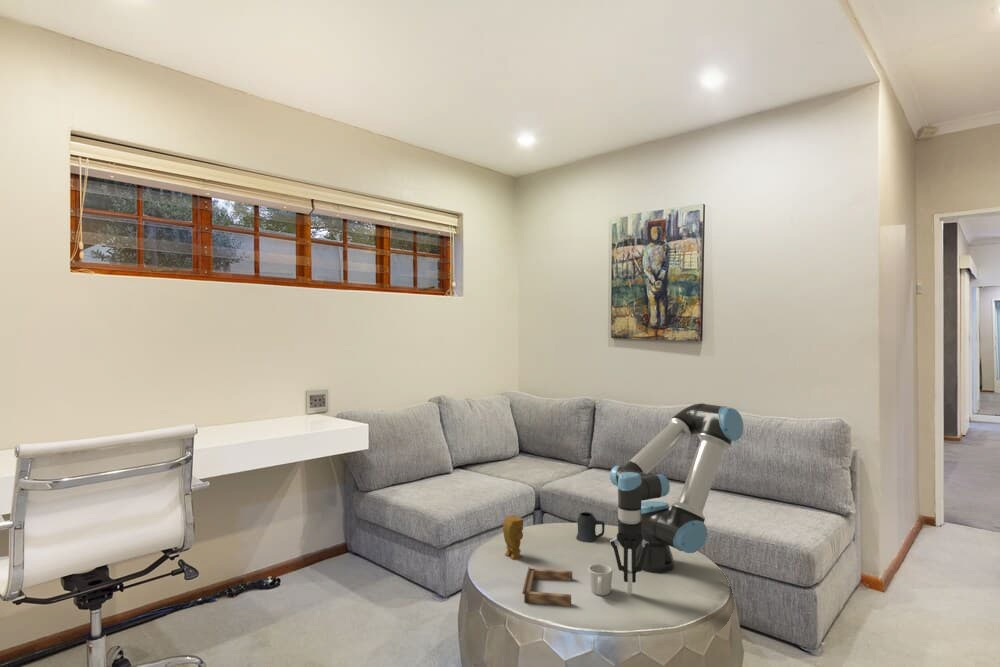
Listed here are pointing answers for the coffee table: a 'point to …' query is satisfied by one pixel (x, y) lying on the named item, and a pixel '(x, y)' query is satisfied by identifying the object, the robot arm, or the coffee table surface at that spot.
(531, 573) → the brown wooden open frame
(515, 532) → the figurine
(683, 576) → the coffee table surface
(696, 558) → the coffee table surface
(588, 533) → the mug
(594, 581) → the cup
